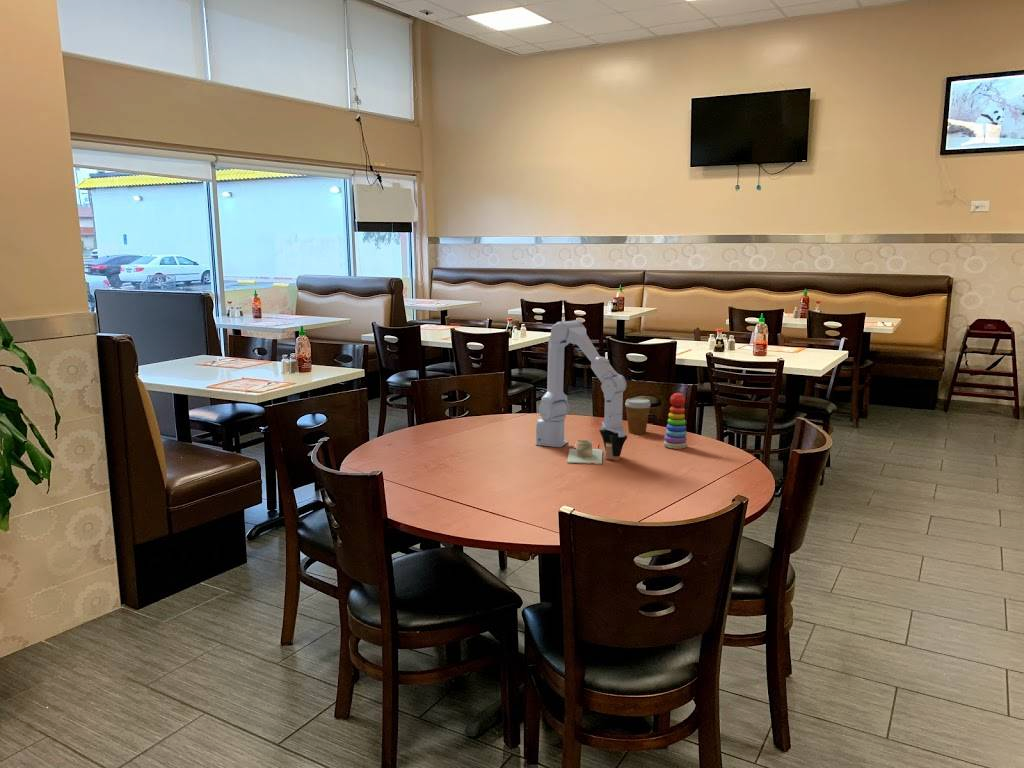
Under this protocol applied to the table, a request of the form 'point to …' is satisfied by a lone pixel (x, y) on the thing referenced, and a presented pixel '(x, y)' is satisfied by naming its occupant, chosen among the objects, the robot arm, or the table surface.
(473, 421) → the table surface
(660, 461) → the table surface
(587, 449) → the beech block
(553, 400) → the robot arm
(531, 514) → the table surface
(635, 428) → the disposable coffee cup
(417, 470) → the table surface
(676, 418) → the stacking toy
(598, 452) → the plate
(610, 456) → the pinkish tan cube
